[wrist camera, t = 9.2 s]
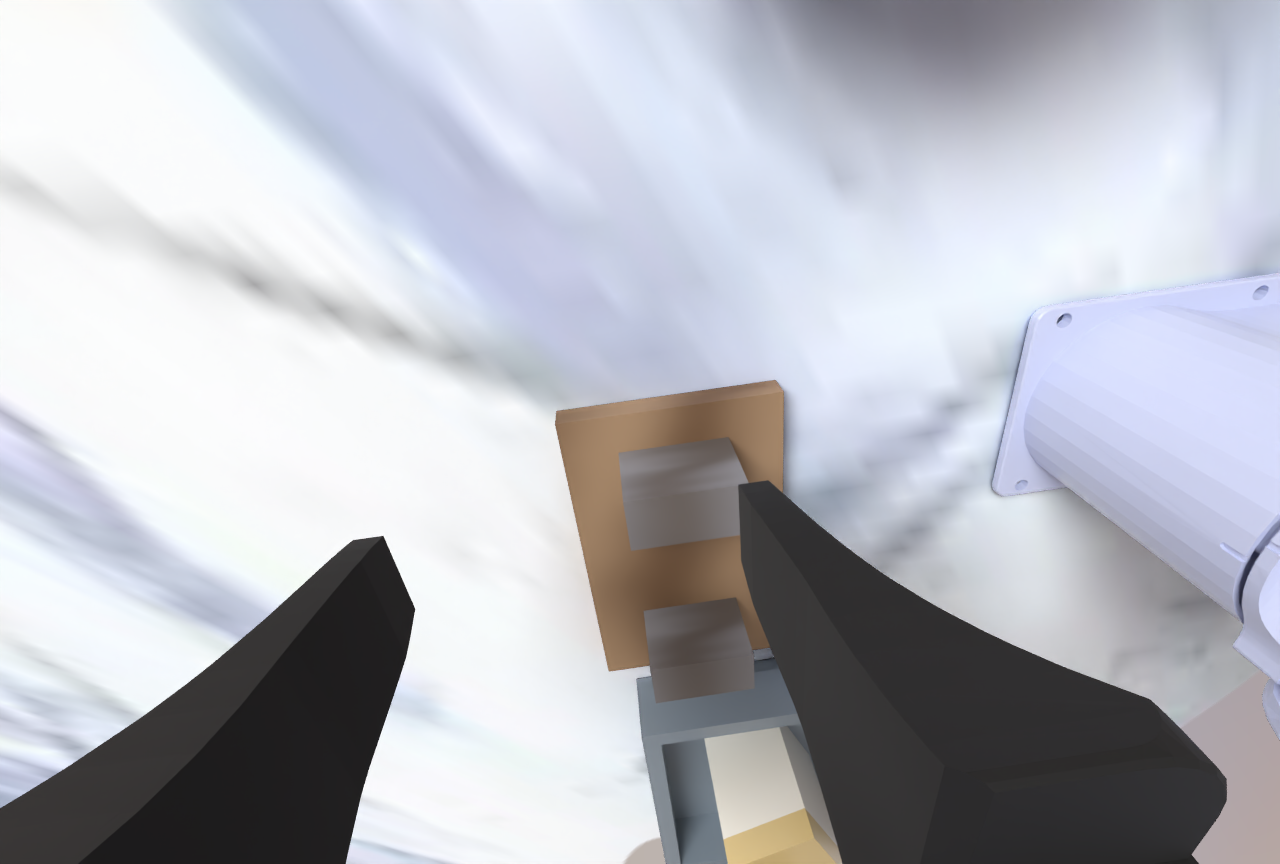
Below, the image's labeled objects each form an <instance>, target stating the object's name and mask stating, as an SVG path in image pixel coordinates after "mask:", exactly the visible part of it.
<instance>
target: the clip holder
mask: <svg viewBox="0 0 1280 864" xmlns="http://www.w3.org/2000/svg"><path fill="white" fill-rule="evenodd" d="M783 414H784V391H783V390H782V389H781V387H780V386H779V384H778V383H777V382H776V380H772V381H765V382H758V383H751V384H744V385H737V386H730V387H723V388H716V389H709V390H702V391H695V392H688V393H681V394H674V395H667V396H660V397H653V398H646V399H639V400H631V401H624V402H617V403H610V404H603V405H596V406H589V407H582V408H575V409H568V410H561V411H556V421H555V426H556V431H557V435H558V440H559V444H560V449H561V454H562V458H563V463H564V467H565V472H566V477H567V481H568V486H569V490H570V495H571V500H572V504H573V509H574V513H575V518H576V523H577V527H578V532H579V536H580V541H581V546H582V550H583V555H584V559H585V564H586V569H587V573H588V578H589V582H590V587H591V592H592V596H593V601H594V605H595V610H596V615H597V619H598V624H599V628H600V633H601V638H602V642H603V647H604V651H605V656H606V661H607V665H608V670H609V671H616V670H622V669H629V668H636V667H643V666H649V665H650V671H651V677H652V683H653V689H654V695H655V701H656V703H662V702H668V701H675V700H682V699H688V698H695V697H702V696H708V695H715V694H722V693H728V692H735V691H742V690H748V689H755V680H754V654H753V651H752V650H757V649H763V648H770V645H769V643H768V640H767V638H766V635H765V633H764V631H763V628H762V626H761V623H760V621H759V618H758V616H757V613H756V611H755V608H754V606H753V602H752V599H751V595H750V592H749V588H748V585H747V581H746V577H745V574H744V570H743V566H742V562H741V545H740V519H739V493H738V485H739V484H745V483H752V482H759V481H766V480H768V481H770V482H771V483H772V484H773V485H775V486H776V487H777V488H778V489H779V490H780V491H781V492H782V493H783Z"/></svg>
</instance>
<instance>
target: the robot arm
mask: <svg viewBox="0 0 1280 864" xmlns="http://www.w3.org/2000/svg"><path fill="white" fill-rule="evenodd" d="M1063 314H1064V316H1063V318H1062V320H1061V321H1060V322H1059V323H1057V320H1058V318H1059V317H1060V316H1061V315H1063ZM1019 481H1020V482H1019ZM1018 482H1019V483H1018ZM1016 483H1018V484H1016ZM1066 487H1068V488H1069V489H1071V490H1072V491H1073V492H1074V493H1076V494H1077V495H1078V496H1080V497H1081V498H1082V499H1083V500H1085V501H1086V502H1087V503H1089V504H1090V505H1091V506H1092V507H1094V508H1095V509H1096V510H1098V511H1099V512H1100V513H1101V514H1103V515H1104V516H1105V517H1107V518H1108V519H1109V520H1111V521H1112V522H1113V523H1114V524H1116V525H1117V526H1118V527H1120V528H1121V529H1122V530H1123V531H1125V532H1126V533H1127V534H1129V535H1130V536H1131V537H1132V538H1134V539H1135V540H1136V541H1138V542H1139V543H1140V544H1141V545H1143V546H1144V547H1145V548H1147V549H1148V550H1149V551H1150V552H1152V553H1153V554H1154V555H1156V556H1157V557H1158V558H1159V559H1161V560H1162V561H1163V562H1165V563H1166V564H1167V565H1168V566H1170V567H1171V568H1172V569H1174V570H1175V571H1176V572H1178V573H1179V574H1180V575H1181V576H1183V577H1184V578H1185V579H1187V580H1188V581H1189V582H1190V583H1192V584H1193V585H1194V586H1196V587H1197V588H1198V589H1199V590H1201V591H1202V592H1203V593H1205V594H1206V595H1207V596H1208V597H1210V598H1211V599H1212V600H1214V601H1215V602H1216V603H1217V604H1219V605H1220V606H1221V607H1223V608H1224V609H1225V610H1226V611H1228V612H1229V613H1230V614H1232V615H1233V616H1234V617H1236V618H1237V619H1238V620H1239V621H1241V622H1242V623H1243V624H1244V625H1243V628H1242V630H1241V633H1240V635H1239V636H1238V638H1237V639H1236V640H1235V642H1234V643H1233V648H1234V649H1236V650H1237V651H1238V652H1239V653H1240V654H1242V655H1243V656H1244V657H1245V658H1246V659H1248V660H1249V661H1250V662H1251V663H1253V664H1254V665H1255V666H1256V667H1257V668H1259V669H1260V670H1261V671H1262V672H1264V673H1265V674H1266V675H1267V676H1268V677H1270V679H1269V680H1268V682H1267V683H1266V686H1265V688H1264V691H1263V694H1262V695H1263V696H1262V697H1263V708H1264V711H1265V714H1266V717H1267V720H1268V722H1269V723H1270V725H1271V727H1272V729H1273V731H1274V732H1275V734H1276V736H1277V737H1278V739H1279V740H1280V273H1275V274H1267V275H1260V276H1253V277H1246V278H1239V279H1232V280H1225V281H1218V282H1211V283H1204V284H1197V285H1189V286H1182V287H1175V288H1168V289H1161V290H1154V291H1147V292H1140V293H1133V294H1126V295H1119V296H1112V297H1104V298H1097V299H1090V300H1083V301H1076V302H1069V303H1062V304H1055V305H1048V306H1044V307H1041V308H1039V309H1038V310H1037V311H1035V313H1034V314H1033V315H1032V316H1031V319H1030V321H1029V325H1028V330H1027V334H1026V338H1025V343H1024V347H1023V351H1022V356H1021V360H1020V364H1019V369H1018V373H1017V378H1016V382H1015V386H1014V391H1013V395H1012V399H1011V404H1010V408H1009V412H1008V417H1007V421H1006V426H1005V430H1004V434H1003V439H1002V443H1001V447H1000V452H999V456H998V460H997V465H996V469H995V474H994V478H993V482H992V488H993V490H994V491H995V492H996V493H997V494H998V495H1001V496H1011V495H1018V494H1025V493H1032V492H1038V491H1045V490H1052V489H1059V488H1066ZM738 493H739V519H740V545H741V562H742V566H743V570H744V574H745V577H746V581H747V585H748V588H749V592H750V595H751V599H752V602H753V606H754V608H755V611H756V613H757V616H758V618H759V621H760V623H761V626H762V628H763V631H764V633H765V635H766V638H767V640H768V643H769V645H770V648H771V650H772V653H773V655H774V657H775V660H776V662H777V665H778V667H779V670H780V672H781V674H782V677H783V679H784V682H785V684H786V687H787V689H788V691H789V694H790V696H791V699H792V701H793V704H794V706H795V709H796V712H797V714H798V717H799V720H800V723H801V725H802V728H803V731H804V735H805V738H806V741H807V744H808V748H809V751H810V754H811V758H812V761H813V764H814V767H815V771H816V774H817V777H818V780H819V784H820V787H821V791H822V794H823V798H824V801H825V804H826V808H827V811H828V815H829V818H830V822H831V825H832V828H833V832H834V835H835V839H836V842H837V846H838V849H839V853H840V857H841V860H842V864H1199V863H1198V862H1197V861H1196V860H1195V858H1194V857H1193V856H1192V855H1191V854H1192V853H1193V851H1194V850H1195V848H1196V847H1197V846H1198V844H1199V843H1200V841H1201V840H1202V839H1203V837H1204V836H1205V835H1206V833H1207V832H1208V831H1209V829H1210V828H1211V826H1212V825H1213V824H1214V822H1215V821H1216V819H1217V818H1218V817H1219V815H1220V813H1221V811H1222V809H1223V807H1224V805H1225V803H1226V800H1227V784H1226V778H1225V776H1224V775H1223V774H1222V773H1221V771H1220V770H1219V769H1218V768H1217V767H1216V765H1215V764H1214V763H1213V762H1212V761H1211V760H1210V759H1209V758H1208V757H1207V756H1206V755H1205V754H1204V753H1203V752H1202V751H1201V750H1200V749H1199V748H1198V747H1197V746H1196V744H1194V742H1193V741H1192V740H1191V739H1190V738H1189V737H1188V736H1187V735H1186V734H1185V733H1184V732H1183V731H1182V730H1181V729H1180V728H1179V727H1178V726H1177V725H1176V724H1175V723H1174V722H1173V721H1172V720H1171V719H1170V718H1169V717H1168V716H1167V715H1166V714H1165V713H1164V712H1163V711H1162V710H1161V709H1160V708H1159V707H1158V706H1157V705H1155V704H1154V703H1153V702H1152V701H1151V700H1150V699H1147V698H1145V697H1142V696H1139V695H1137V694H1134V693H1131V692H1129V691H1126V690H1123V689H1121V688H1118V687H1115V686H1113V685H1110V684H1107V683H1105V682H1102V681H1099V680H1097V679H1094V678H1091V677H1089V676H1086V675H1083V674H1081V673H1078V672H1075V671H1073V670H1070V669H1067V668H1065V667H1063V666H1060V665H1058V664H1055V663H1053V662H1051V661H1048V660H1046V659H1044V658H1041V657H1039V656H1037V655H1035V654H1032V653H1030V652H1028V651H1025V650H1023V649H1021V648H1018V647H1016V646H1014V645H1012V644H1010V643H1008V642H1005V641H1003V640H1001V639H999V638H997V637H995V636H993V635H991V634H988V633H986V632H984V631H982V630H980V629H978V628H977V627H975V626H973V625H971V624H969V623H967V622H965V621H963V620H961V619H959V618H957V617H955V616H953V615H951V614H949V613H948V612H946V611H944V610H942V609H940V608H938V607H937V606H935V605H933V604H931V603H930V602H928V601H926V600H924V599H923V598H921V597H919V596H918V595H916V594H915V593H913V592H911V591H910V590H908V589H906V588H905V587H903V586H901V585H900V584H898V583H897V582H895V581H893V580H892V579H890V578H889V577H887V576H886V575H884V574H883V573H881V572H880V571H878V570H877V569H875V568H874V567H872V566H871V565H870V564H868V563H867V562H866V561H864V560H863V559H861V558H860V557H859V556H857V555H856V554H855V553H853V552H852V551H851V550H849V549H848V548H847V547H845V546H844V545H843V544H842V543H840V542H839V541H838V540H837V539H835V538H834V537H833V536H832V535H831V534H829V533H828V532H827V531H826V530H824V529H823V528H822V527H821V526H819V525H818V524H817V523H816V522H815V521H814V520H812V519H811V518H810V517H809V516H808V515H807V514H806V513H804V512H803V511H802V510H801V509H800V508H799V507H798V506H796V505H795V504H794V503H793V502H792V501H791V500H790V499H789V498H788V497H787V496H785V495H784V494H783V493H782V492H781V491H780V490H779V489H778V488H777V487H776V486H775V485H773V484H772V483H771V482H770V481H768V480H766V481H759V482H752V483H745V484H739V485H738ZM414 612H415V608H414V605H413V603H412V601H411V598H410V596H409V594H408V592H407V589H406V587H405V585H404V582H403V580H402V578H401V575H400V573H399V571H398V569H397V566H396V564H395V562H394V559H393V557H392V555H391V553H390V550H389V548H388V546H387V543H386V541H385V539H384V537H383V536H379V537H372V538H366V539H359V540H353V541H352V542H350V543H349V544H348V545H347V546H345V547H344V548H343V549H342V550H341V551H339V552H338V553H337V554H336V555H335V556H334V557H333V558H331V559H330V560H329V561H328V562H327V563H326V564H325V565H324V566H323V567H322V568H320V569H319V570H318V571H317V572H316V573H315V574H314V575H313V576H312V577H311V578H310V579H308V580H307V581H306V582H305V583H304V584H303V585H302V586H301V587H300V588H299V589H298V590H296V591H295V592H294V593H293V594H292V595H291V596H290V597H289V598H288V599H287V600H285V601H284V602H283V603H282V604H281V605H280V606H279V607H278V608H277V609H276V610H274V611H273V612H272V613H271V614H270V615H269V616H268V617H267V618H266V619H264V620H263V621H262V622H261V623H260V624H259V625H257V626H256V627H255V628H254V629H253V630H252V631H250V632H249V633H248V634H247V635H246V636H245V637H243V638H242V639H241V640H240V641H239V642H237V643H236V644H235V645H234V646H233V647H232V648H230V649H229V650H228V651H227V652H226V653H225V654H223V655H222V656H221V657H220V658H219V659H218V660H216V661H215V662H214V663H213V664H211V665H210V666H209V667H208V668H206V669H205V670H204V671H203V672H201V673H200V674H199V675H198V676H196V677H195V678H194V679H192V680H191V681H190V682H189V683H187V684H186V685H185V686H183V687H182V688H181V689H179V690H178V691H177V692H175V693H174V694H173V695H171V696H170V697H169V698H167V699H166V700H165V701H163V702H162V703H161V704H159V705H158V706H157V707H155V708H154V709H153V710H151V711H150V712H148V713H147V714H146V715H144V716H143V717H141V718H140V719H139V720H137V721H136V722H134V723H133V724H131V725H130V726H128V727H127V728H125V729H124V730H122V731H121V732H119V733H118V734H116V735H115V736H113V737H112V738H110V739H109V740H107V741H106V742H104V743H103V744H101V745H100V746H98V747H97V748H95V749H94V750H92V751H91V752H89V753H88V754H86V755H85V756H84V757H82V758H81V759H79V760H78V761H76V762H75V763H73V764H72V765H70V766H68V767H67V768H65V769H64V770H62V771H61V772H59V773H57V774H56V775H54V776H53V777H51V778H49V779H48V780H46V781H44V782H43V783H41V784H40V785H38V786H36V787H35V788H33V789H32V790H30V791H28V792H27V793H25V794H23V795H22V796H20V797H18V798H17V799H15V800H13V801H12V802H10V803H8V804H7V805H5V806H3V807H2V808H0V864H346V859H347V854H348V850H349V845H350V841H351V837H352V833H353V828H354V824H355V820H356V815H357V811H358V807H359V802H360V798H361V794H362V791H363V787H364V784H365V780H366V777H367V774H368V770H369V767H370V764H371V761H372V758H373V755H374V752H375V749H376V746H377V743H378V740H379V737H380V734H381V731H382V728H383V726H384V723H385V720H386V717H387V714H388V711H389V708H390V705H391V702H392V699H393V696H394V693H395V690H396V687H397V684H398V681H399V678H400V675H401V672H402V668H403V665H404V662H405V659H406V655H407V650H408V645H409V641H410V636H411V630H412V624H413V618H414Z"/></svg>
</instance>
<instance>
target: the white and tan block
mask: <svg viewBox="0 0 1280 864" xmlns="http://www.w3.org/2000/svg"><path fill="white" fill-rule="evenodd" d="M704 740H705V745H706V751H707V756H708V761H709V766H710V772H711V777H712V782H713V787H714V793H715V798H716V803H717V809H718V814H719V819H720V824H721V830H722V835H723V840H724V846H725V851H726V856H727V861H728V864H842V860H841V857H840V853H839V849H838V846H837V842H836V839H835V835H834V832H833V828H832V825H831V822H830V818H829V815H828V811H827V808H826V804H825V801H824V798H823V794H822V791H821V787H820V784H819V782H818V779H817V776H816V773H815V770H814V767H813V764H812V761H811V759H810V756H809V754H808V753H807V751H806V750H805V749H804V747H803V746H802V745H801V744H800V742H799V741H798V740H797V738H796V737H795V736H794V734H793V733H792V732H791V731H790V729H789V728H788V727H787V726H784V727H777V728H770V729H764V730H757V731H751V732H744V733H737V734H731V735H724V736H718V737H711V738H704Z"/></svg>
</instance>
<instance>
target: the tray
mask: <svg viewBox="0 0 1280 864" xmlns="http://www.w3.org/2000/svg"><path fill="white" fill-rule="evenodd" d="M754 680H755V689H748V690H742V691H735V692H728V693H722V694H715V695H708V696H702V697H695V698H688V699H682V700H675V701H668V702H662V703H656V701H655V695H654V689H653V683H652V677H646V678H640V679H637V690H638V701H639V713H640V724H641V735H642V741H643V747H644V752H645V757H646V762H647V768H648V773H649V778H650V783H651V788H652V794H653V799H654V804H655V809H656V815H657V820H658V825H659V830H660V836H661V841H662V846H663V851H664V857H665V862H666V864H728V861H727V856H726V851H725V846H724V840H723V835H722V830H721V824H720V819H719V814H718V809H717V803H716V798H715V793H714V787H713V782H712V777H711V772H710V766H709V761H708V756H707V751H706V745H705V740H704V738H711V737H718V736H724V735H731V734H737V733H744V732H751V731H757V730H764V729H770V728H777V727H784V726H787V727H788V728H789V729H790V731H791V732H792V733H793V734H794V736H795V737H796V738H797V740H798V741H799V742H800V744H801V745H802V746H803V747H804V749H805V750H806V751H807V753H808V754H809V756H810V759H811V761H812V758H811V754H810V751H809V748H808V744H807V741H806V738H805V735H804V731H803V728H802V725H801V723H800V720H799V717H798V714H797V712H796V709H795V706H794V704H793V701H792V699H791V696H790V694H789V691H788V689H787V687H786V684H785V682H784V679H783V677H782V674H781V672H780V670H779V667H778V665H777V662H776V660H775V658H773V659H767V660H760V661H754ZM812 764H813V761H812ZM813 767H814V764H813ZM814 770H815V767H814ZM815 773H816V771H815ZM816 776H817V774H816ZM817 779H818V777H817ZM818 782H819V780H818Z"/></svg>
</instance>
